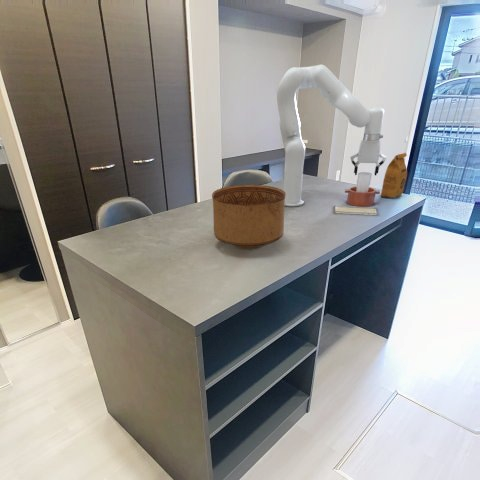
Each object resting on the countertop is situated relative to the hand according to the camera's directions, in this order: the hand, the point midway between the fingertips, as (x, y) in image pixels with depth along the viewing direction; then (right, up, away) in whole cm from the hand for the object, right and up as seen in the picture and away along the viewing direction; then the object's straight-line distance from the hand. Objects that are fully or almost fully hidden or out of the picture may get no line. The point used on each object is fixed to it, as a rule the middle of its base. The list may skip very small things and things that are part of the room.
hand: (365, 174), depth 181 cm
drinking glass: (0, -12, +8) cm, 15 cm away
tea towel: (-6, -19, -3) cm, 21 cm away
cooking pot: (0, -12, +8) cm, 14 cm away
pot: (-61, -44, -38) cm, 84 cm away
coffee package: (+21, -5, +18) cm, 28 cm away
